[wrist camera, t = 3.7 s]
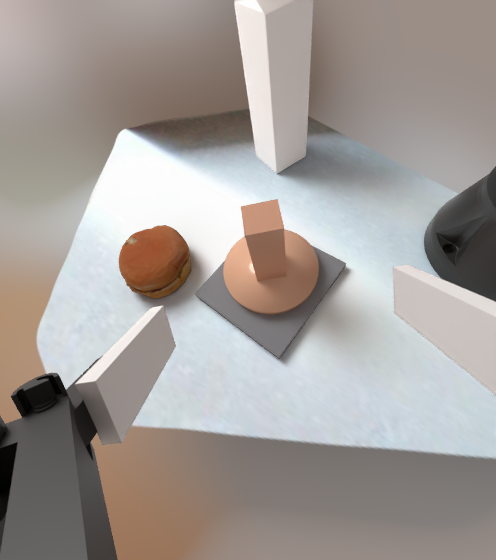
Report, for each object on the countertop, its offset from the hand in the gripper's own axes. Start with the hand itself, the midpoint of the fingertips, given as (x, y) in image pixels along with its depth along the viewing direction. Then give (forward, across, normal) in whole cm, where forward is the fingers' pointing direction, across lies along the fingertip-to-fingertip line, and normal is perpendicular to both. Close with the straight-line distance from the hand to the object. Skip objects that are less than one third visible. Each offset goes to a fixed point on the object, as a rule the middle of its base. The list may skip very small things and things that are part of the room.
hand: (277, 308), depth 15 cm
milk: (+34, +5, +12) cm, 36 cm away
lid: (+18, 0, -3) cm, 18 cm away
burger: (+22, -15, 0) cm, 26 cm away
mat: (+18, 0, -4) cm, 18 cm away
